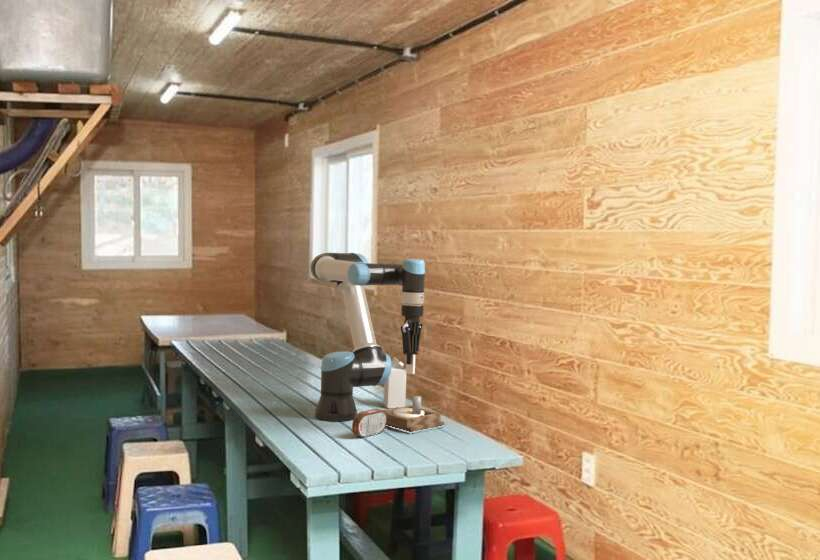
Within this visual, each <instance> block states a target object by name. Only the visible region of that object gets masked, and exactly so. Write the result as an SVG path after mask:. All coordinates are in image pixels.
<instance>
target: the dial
mask: <svg viewBox="0 0 820 560" xmlns="http://www.w3.org/2000/svg"><path fill="white" fill-rule="evenodd" d="M412 406H413V407H412V408H400V409H395V410H394V411H393V414H394V415H397V416H401V417H404V418H413V417H419V416H421V415H424V411H423V410H421V409H422V396H420V395H413V396H412Z"/></svg>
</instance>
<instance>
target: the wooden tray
mask: <svg viewBox="0 0 820 560" xmlns="http://www.w3.org/2000/svg"><path fill="white" fill-rule="evenodd" d="M412 407H413V405H405V406H404V407H398V408H387V409H381V410H382V411H384V412H385V413H386V415H387V423H386V425H388V426H392V427H395V428H399V429H403V430H406V431H409V432H413V431H418V430H423V429H428V428H434V427H438V426H442V425H444V426H445V421H444V420H443V421H442V420H441V419H442V418H441V417H442V414H441V413H439V412H436V411H431V410H427V408H421V410H423V411H424V415H421V416H419V417H413V418H404V417H401V416H397V415H394V414H393V411H394V410H395V409H400V408H412Z"/></svg>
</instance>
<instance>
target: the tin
mask: <svg viewBox="0 0 820 560" xmlns="http://www.w3.org/2000/svg"><path fill="white" fill-rule="evenodd" d="M382 410H383V409H379V408H372V409H368V410H362V411H360V412H357V415H356V416H355V418H354V419H353V420H352V424H351V430H352V433H353V434H354V436H356V437H359V438H363V437H364V436H368V435H372V434H376V433H379V432H381V433H382V432H383V431H384V430H385V428H387V427H386V423H387V415H386V413H385V412H384V411H382ZM376 435H377V434H376ZM372 436H373V435H372ZM368 437H369V436H368ZM364 438H365V437H364Z"/></svg>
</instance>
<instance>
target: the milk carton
mask: <svg viewBox="0 0 820 560" xmlns="http://www.w3.org/2000/svg"><path fill="white" fill-rule="evenodd" d="M391 364H392V368H391V374H390V377H389V379H388V381H387V382H386V383H384V384H383V406H384V405H385V406H384V407H385V408H387V409H392V408H396V407H404V406H406V399H407V397H406V395H407V393H406V392H407V373H406V367H404V365H405V364H404V363H403V362H402V361H401V360H400V361H399V359H397V358H396V357H394V356H393V359H392V360H391Z"/></svg>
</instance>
